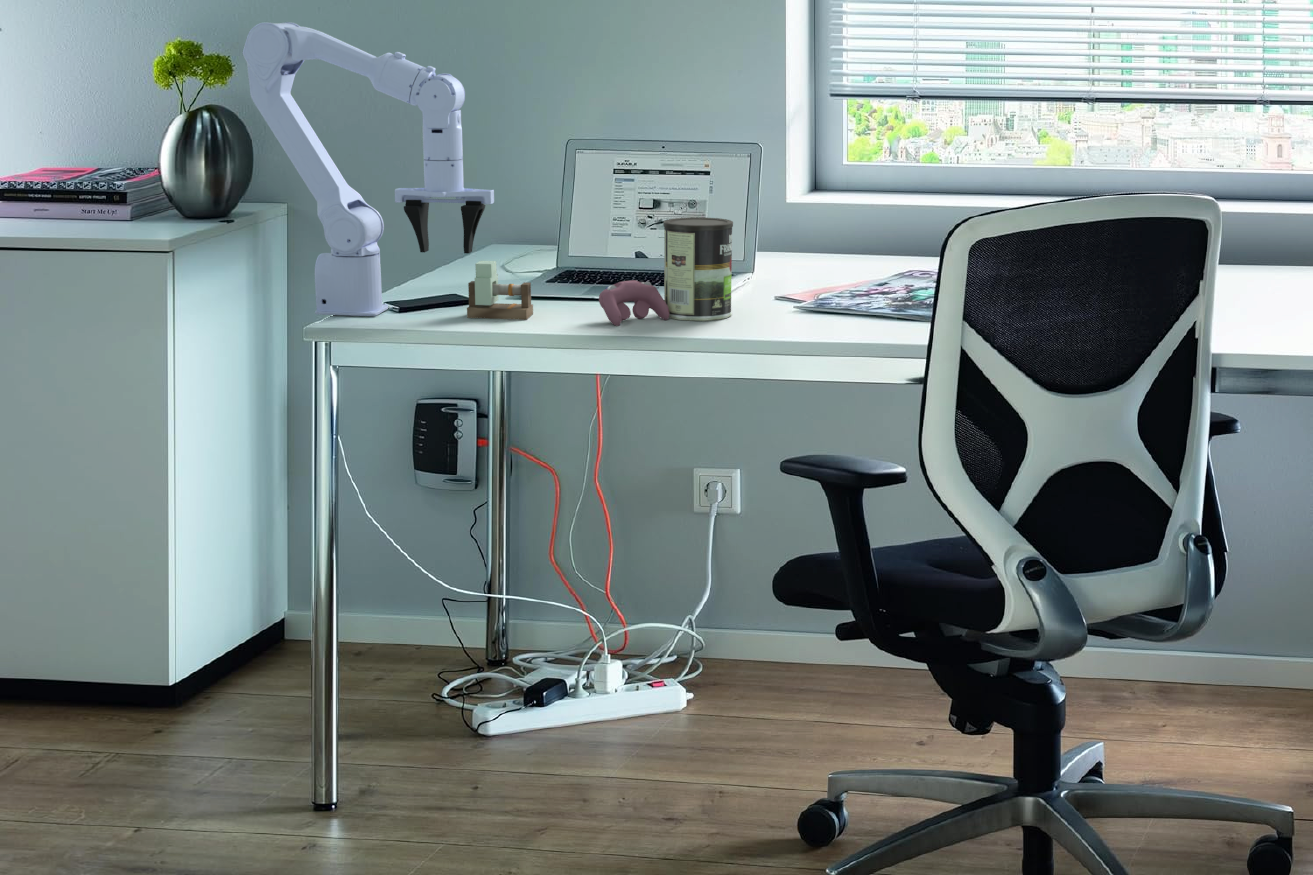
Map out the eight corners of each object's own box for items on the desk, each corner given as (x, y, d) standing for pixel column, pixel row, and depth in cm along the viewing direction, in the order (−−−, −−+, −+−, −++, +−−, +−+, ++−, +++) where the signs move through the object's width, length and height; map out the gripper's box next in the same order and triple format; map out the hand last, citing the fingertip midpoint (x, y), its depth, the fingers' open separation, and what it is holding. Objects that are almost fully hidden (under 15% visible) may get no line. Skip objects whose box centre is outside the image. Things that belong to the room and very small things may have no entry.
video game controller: (659, 326, 232) (647, 282, 233) (674, 317, 228) (662, 272, 229) (602, 333, 227) (591, 288, 228) (616, 324, 223) (605, 278, 224)
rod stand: (467, 317, 230) (466, 284, 229) (474, 312, 234) (473, 279, 233) (526, 319, 229) (525, 286, 228) (533, 314, 233) (532, 281, 232)
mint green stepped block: (475, 304, 230) (474, 264, 228) (482, 299, 234) (481, 260, 232) (491, 305, 229) (490, 264, 228) (498, 300, 233) (497, 260, 232)
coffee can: (736, 310, 237) (737, 217, 233) (725, 322, 227) (727, 226, 223) (670, 307, 239) (670, 215, 235) (656, 320, 229) (657, 224, 225)
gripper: (386, 161, 224) (390, 254, 228) (484, 162, 222) (487, 257, 226) (401, 156, 231) (405, 248, 234) (496, 158, 229) (498, 250, 232)
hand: (446, 252), depth 230 cm, fingers open, 6 cm apart
